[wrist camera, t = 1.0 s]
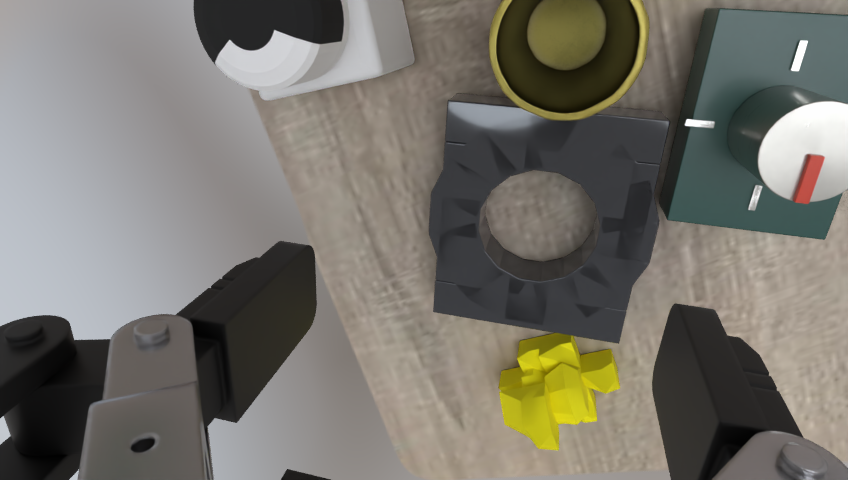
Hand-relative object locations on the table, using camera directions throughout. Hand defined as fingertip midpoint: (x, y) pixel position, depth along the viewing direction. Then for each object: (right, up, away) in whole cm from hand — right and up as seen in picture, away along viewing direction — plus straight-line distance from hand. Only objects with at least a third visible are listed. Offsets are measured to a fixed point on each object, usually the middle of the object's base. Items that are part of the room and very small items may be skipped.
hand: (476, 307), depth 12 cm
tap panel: (+17, +8, +18) cm, 26 cm away
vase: (+7, +14, +19) cm, 24 cm away
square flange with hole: (+6, +3, +23) cm, 24 cm away
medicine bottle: (-6, +15, +21) cm, 27 cm away
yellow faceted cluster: (+9, -8, +27) cm, 30 cm away
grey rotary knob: (+17, +7, +15) cm, 24 cm away
